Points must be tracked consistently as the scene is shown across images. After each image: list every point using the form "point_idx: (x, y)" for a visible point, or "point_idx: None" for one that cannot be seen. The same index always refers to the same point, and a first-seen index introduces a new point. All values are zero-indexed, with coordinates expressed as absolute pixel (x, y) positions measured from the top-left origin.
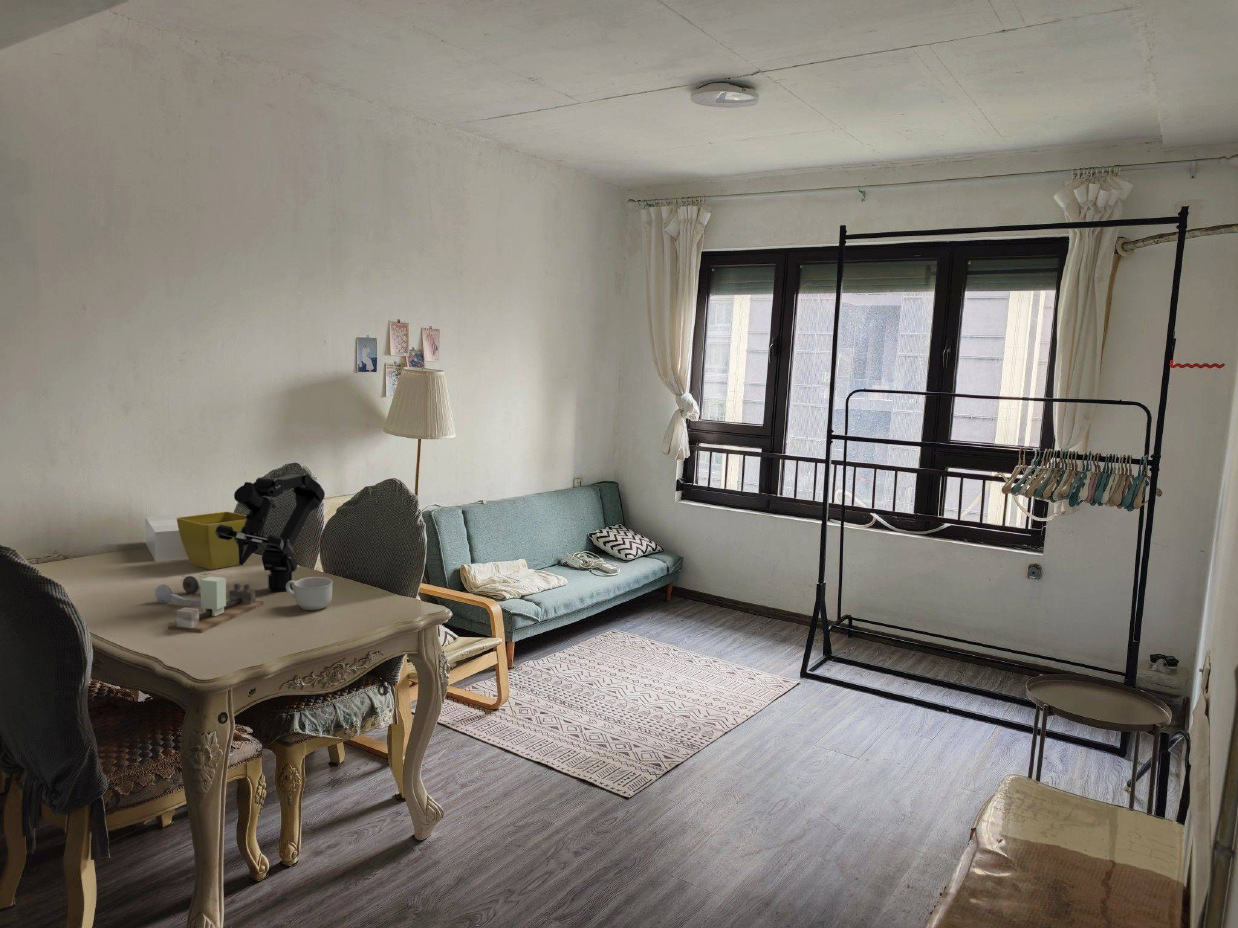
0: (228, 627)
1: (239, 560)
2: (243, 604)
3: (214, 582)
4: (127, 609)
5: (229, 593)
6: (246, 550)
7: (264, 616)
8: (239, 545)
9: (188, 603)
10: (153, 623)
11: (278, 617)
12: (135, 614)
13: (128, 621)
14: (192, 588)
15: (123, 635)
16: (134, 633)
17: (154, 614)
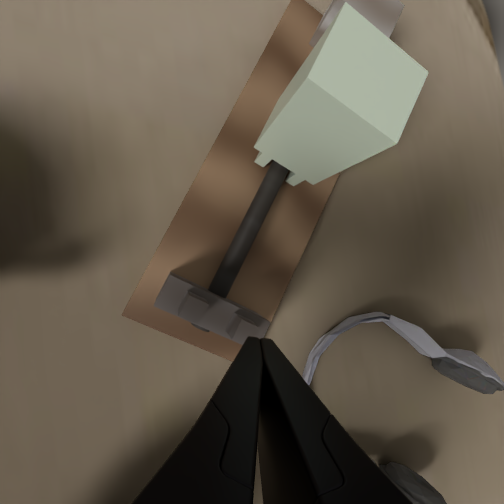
0: (216, 32)
1: (280, 352)
2: (199, 275)
3: (352, 17)
4: (497, 292)
5: (266, 319)
6: (242, 430)
7: (99, 138)
8: (386, 499)
9: (377, 313)
10: (421, 142)
11: (34, 108)
12: (473, 241)
13: (474, 177)
14: (399, 468)
15: (460, 52)
16: (443, 61)
17: (435, 233)
